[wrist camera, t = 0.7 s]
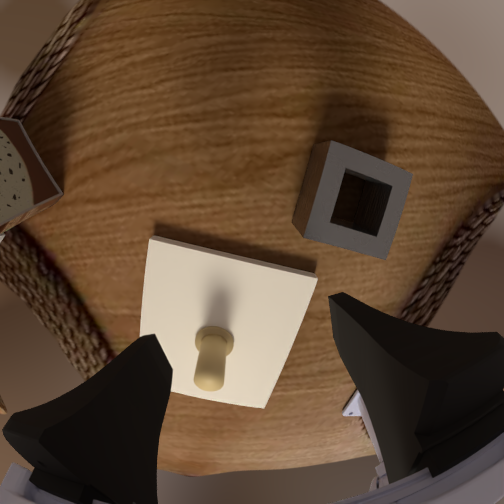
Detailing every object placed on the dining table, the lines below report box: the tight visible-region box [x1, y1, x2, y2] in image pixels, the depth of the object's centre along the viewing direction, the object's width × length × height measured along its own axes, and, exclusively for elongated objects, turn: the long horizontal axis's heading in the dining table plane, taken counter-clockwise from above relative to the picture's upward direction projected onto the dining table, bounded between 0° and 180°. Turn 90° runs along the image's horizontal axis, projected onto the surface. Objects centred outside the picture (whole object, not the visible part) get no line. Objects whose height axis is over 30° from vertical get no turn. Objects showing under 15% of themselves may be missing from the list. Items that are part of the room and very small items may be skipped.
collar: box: [292, 140, 413, 260], centre depth 17 cm, size 6×6×4 cm
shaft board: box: [140, 235, 318, 408], centre depth 19 cm, size 12×14×6 cm
